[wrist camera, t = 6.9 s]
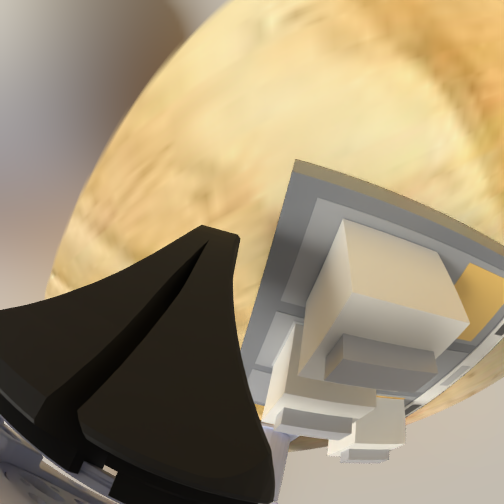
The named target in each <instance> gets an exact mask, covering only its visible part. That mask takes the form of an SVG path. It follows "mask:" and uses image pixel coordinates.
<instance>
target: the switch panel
mask: <svg viewBox="0 0 504 504" xmlns="http://www.w3.org/2000/svg"><path fill="white" fill-rule="evenodd" d="M342 219H346V220H349V221H352V222H356V223H359V224H361V225H364V226H367V227H370V228H373V229H376V230H379V231H382V232H385V233H388V234H390V235H393V236H396V237H399V238H401V239H404V240H407V241H409V242H412V243H415V244H417V245H420V246H423V247H425V248H428V249H430V250H433V251H435V252H437V253H438V254H439V256H440V258H441V260H442V262H443V264H444V266H445V268H446V270H447V272H448V274H449V276H450V278H451V280H452V282H453V284H454V286H455V289H456V291H457V293H458V295H459V298H460V300H461V302H462V304H463V307H464V309H465V312H466V314H467V317H468V319H469V322H470V324H469V325H468V326H467V328H466V329H465V330H464V331H463V332H462V333H461V334H460V335H459V336H458V337H457V338H456V339H455V340H454V342H453V343H452V344H451V345H450V346H449V347H448V348H447V349H446V350H445V351H444V352H443V353H442V354H441V355H440V356H438V357H437V358H436V359H435V360H436V365H437V370H438V374H437V375H436V376H435V377H433V378H432V379H431V380H430V381H429V382H427V383H426V384H425V385H424V386H422V387H421V388H420V389H418V390H417V391H416V392H415V393H411V392H400V391H398V392H394V391H385V390H376V397H381V398H391V399H404V406H405V418H406V417H407V416H409V415H410V414H412V413H414V412H415V411H417V410H418V409H420V408H421V407H423V406H424V405H426V404H427V403H428V402H430V401H431V400H433V399H434V398H435V397H437V396H438V395H440V394H441V393H442V392H444V391H445V390H446V389H447V388H449V387H450V386H451V385H453V384H454V383H455V382H456V381H458V380H459V379H460V378H461V377H462V376H464V375H465V374H466V373H467V372H468V371H469V370H471V369H472V368H473V367H474V366H475V365H476V364H477V363H478V362H479V361H480V360H482V359H483V358H484V357H485V356H486V355H487V354H488V353H489V352H490V351H491V350H492V349H493V348H494V347H495V346H496V345H497V344H498V343H499V342H500V341H501V340H502V339H503V337H504V246H503V245H501V244H499V243H498V242H496V241H494V240H492V239H491V238H489V237H487V236H485V235H483V234H482V233H480V232H478V231H476V230H474V229H472V228H470V227H468V226H467V225H465V224H463V223H461V222H459V221H457V220H455V219H453V218H451V217H449V216H447V215H444V214H442V213H440V212H438V211H436V210H434V209H432V208H429V207H427V206H425V205H423V204H420V203H418V202H416V201H413V200H411V199H409V198H406V197H404V196H402V195H399V194H397V193H394V192H392V191H389V190H387V189H384V188H381V187H379V186H376V185H374V184H371V183H368V182H365V181H363V180H360V179H357V178H354V177H351V176H348V175H345V174H342V173H339V172H336V171H333V170H330V169H327V168H324V167H321V166H317V165H314V164H311V163H307V162H304V161H301V160H297V159H295V163H294V167H293V170H292V174H291V178H290V181H289V185H288V189H287V192H286V196H285V199H284V203H283V207H282V210H281V214H280V217H279V221H278V225H277V228H276V232H275V235H274V239H273V242H272V246H271V249H270V253H269V256H268V260H267V263H266V267H265V270H264V273H263V277H262V280H261V284H260V287H259V291H258V294H257V297H256V301H255V304H254V307H253V311H252V314H251V318H250V321H249V324H248V328H247V331H246V334H245V337H244V341H243V344H242V347H241V351H240V352H241V357H242V361H243V365H244V369H245V373H246V377H247V381H248V385H249V388H250V392H251V395H252V398H253V401H254V403H255V404H259V405H263V406H265V403H266V398H267V394H268V389H269V384H270V380H271V375H272V370H273V366H274V364H275V362H276V360H277V358H278V356H279V354H280V353H281V351H282V349H283V347H284V345H285V343H286V341H287V339H288V337H289V335H290V333H291V331H292V329H293V327H294V326H295V324H298V325H302V326H304V318H305V309H306V301H307V299H308V297H309V295H310V293H311V290H312V288H313V286H314V284H315V282H316V280H317V278H318V275H319V273H320V271H321V269H322V266H323V264H324V262H325V260H326V257H327V255H328V253H329V251H330V248H331V246H332V244H333V241H334V239H335V236H336V234H337V232H338V229H339V227H340V224H341V222H342Z"/></svg>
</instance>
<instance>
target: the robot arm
mask: <svg viewBox="0 0 504 504" xmlns="http://www.w3.org/2000/svg"><path fill="white" fill-rule="evenodd" d="M239 243H240V238H239V236H238V235H237V234H233V233H229V232H226V231H222V230H219V229H215V228H211V227H208V226H204V225H201V226H199V227H197V228H195V229H194V230H192V231H190V232H189V233H187V234H185V235H184V236H182V237H180V238H179V239H177V240H175V241H174V242H172V243H170V244H169V245H167V246H165V247H164V248H162V249H160V250H159V251H157V252H155V253H154V254H152V255H150V256H148V257H146V258H144V259H142V260H141V261H139V262H137V263H135V264H133V265H131V266H130V267H128V268H126V269H124V270H122V271H119V272H117V273H115V274H113V275H111V276H109V277H106V278H104V279H102V280H100V281H97V282H95V283H92V284H90V285H87V286H84V287H81V288H79V289H76V290H73V291H71V292H68V293H65V294H62V295H59V296H56V297H53V298H50V299H46V300H43V301H39V302H36V303H32V304H28V305H24V306H19V307H14V308H9V309H3V310H0V504H116V503H114V502H112V501H110V500H108V499H106V498H104V497H102V496H100V495H98V494H96V493H94V492H92V491H90V490H89V489H87V488H85V487H83V486H81V485H79V484H78V483H76V482H74V481H73V480H71V479H69V478H68V477H66V476H64V475H63V474H61V473H60V472H58V471H57V470H55V469H53V468H52V467H51V466H49V465H48V464H46V463H45V462H43V461H42V459H43V456H45V457H46V458H47V459H48V460H50V461H51V462H53V463H54V464H55V465H56V466H58V467H59V468H61V469H62V470H63V471H65V472H66V473H68V474H69V475H71V476H72V477H74V478H75V479H77V480H79V481H80V482H82V483H83V484H85V485H87V486H88V487H90V488H92V489H93V490H95V491H97V492H99V493H100V494H102V495H104V496H106V497H108V498H110V499H112V500H114V501H116V502H118V503H120V504H278V503H277V502H273V501H277V500H278V496H279V492H280V487H281V483H282V478H283V474H284V469H285V464H286V459H287V454H288V449H289V444H290V442H291V441H293V440H294V439H296V438H298V437H299V435H293V434H288V433H282V432H277V431H273V430H274V425H272V424H267V423H263V422H260V419H259V416H258V413H257V411H256V407H255V404H254V401H253V398H252V395H251V392H250V388H249V385H248V381H247V377H246V373H245V369H244V365H243V361H242V357H241V352H240V347H239V341H238V336H237V329H236V322H235V314H234V302H233V274H234V269H235V264H236V259H237V253H238V248H239ZM4 421H5V422H6V423H7V424H8V425H9V426H10V427H11V428H12V429H13V430H12V429H11V428H9V427H8V426H7V425H5V424H4ZM42 455H43V456H42ZM104 465H106V466H108V467H110V468H112V469H114V470H116V471H117V472H118V473H117V475H116V476H114V475H112V474H110V473H108V472H106V471H104V470H103V467H104Z"/></svg>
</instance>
